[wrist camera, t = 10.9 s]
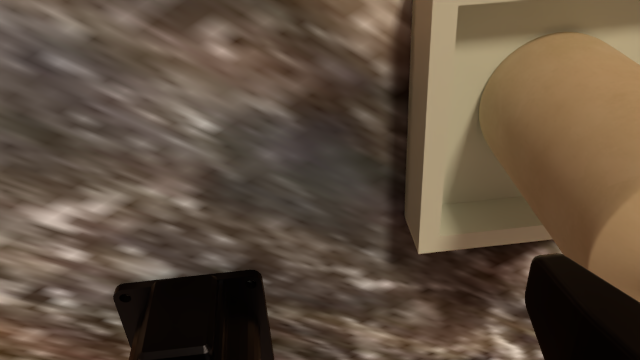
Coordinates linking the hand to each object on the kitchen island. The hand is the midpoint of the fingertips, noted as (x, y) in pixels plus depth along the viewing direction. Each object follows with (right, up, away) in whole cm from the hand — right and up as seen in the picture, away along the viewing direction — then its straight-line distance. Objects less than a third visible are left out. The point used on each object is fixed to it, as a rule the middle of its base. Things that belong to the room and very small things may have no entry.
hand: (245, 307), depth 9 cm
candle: (+10, +5, +13) cm, 17 cm away
